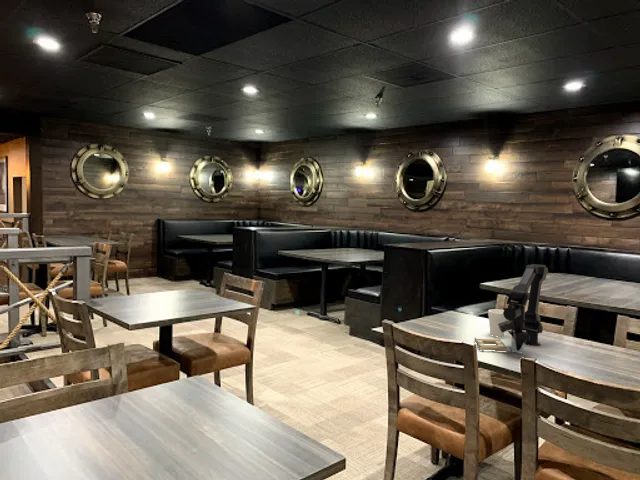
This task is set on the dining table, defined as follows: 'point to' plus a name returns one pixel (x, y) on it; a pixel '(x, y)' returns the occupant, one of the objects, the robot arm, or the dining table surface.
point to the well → (497, 347)
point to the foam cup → (496, 321)
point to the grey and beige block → (513, 346)
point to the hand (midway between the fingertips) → (516, 349)
